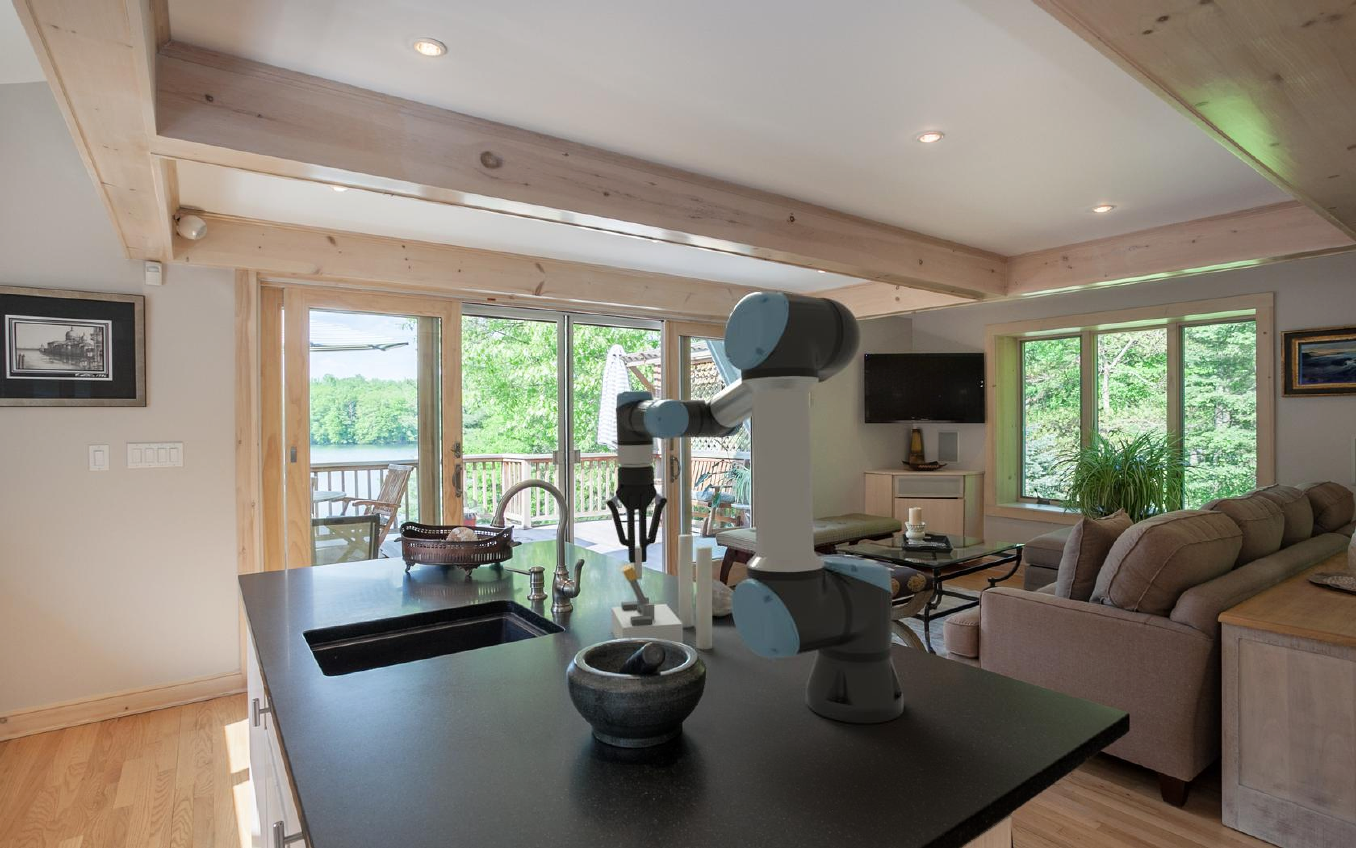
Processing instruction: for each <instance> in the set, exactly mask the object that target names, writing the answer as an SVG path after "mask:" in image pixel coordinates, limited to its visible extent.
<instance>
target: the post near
mask: <svg viewBox="0 0 1356 848" xmlns="http://www.w3.org/2000/svg"><path fill="white" fill-rule="evenodd" d="M712 579H713V547H712V546H709V545H707V546H706V545H704V546H703V545H699V546H696V547H695V595H696V610H695V647H696V649H698V650H710V649H712V648H713V616H712Z"/></svg>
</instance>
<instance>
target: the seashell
mask: <svg viewBox="0 0 1356 848" xmlns="http://www.w3.org/2000/svg"><path fill="white" fill-rule="evenodd" d="M734 591H735V590H733V589H731V588H730V587H729V586H727V585H726V583H725V584H724V583H723V582H722V581H720V579H713V578H712V617H724V616H727V615H730V614H732V595H733V592H734ZM693 609H694V611H696V594H695V596H694V603H693Z"/></svg>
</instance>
